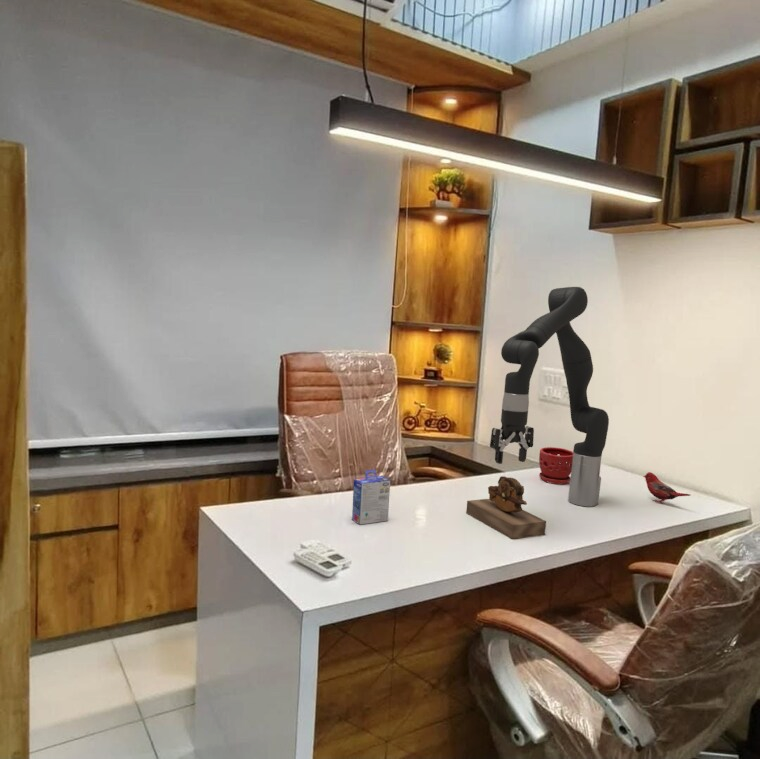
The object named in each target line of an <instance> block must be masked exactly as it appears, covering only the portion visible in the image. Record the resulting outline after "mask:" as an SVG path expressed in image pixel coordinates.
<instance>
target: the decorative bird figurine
mask: <svg viewBox="0 0 760 759" xmlns="http://www.w3.org/2000/svg"><path fill="white" fill-rule="evenodd" d="M642 477H643V478H644V479H645V482H646V486H647V489H648V491H649V492H650V494H651V495H652V496H653V497H654V498H656V499H651V500H652V501H654V502H655V503H657V504H658V503H659V504H661V505H663V504H664V505H666V503H665V502H664V501H667V500H673V499H675V498H678V497H687V496H688V497H689V496H691V494H689V493H682V492H677V491H676V490H675V489H673V488H672V487H671V486H669V485H668V484H666V483H664V482H662V481H661V480H659V478H658V476H656V475H655V474H654V473H653V472H647V473H646V474H645V475H644V476H642ZM658 499H659V500H658Z"/></svg>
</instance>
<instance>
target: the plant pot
mask: <svg viewBox="0 0 760 759" xmlns="http://www.w3.org/2000/svg"><path fill="white" fill-rule="evenodd" d="M538 455H539V458H538V462H539V463H538V464H539V469H540V473H538V474H539V478H540V479H541V480H542V481H544V482H547V483H551V484H557V485H563V484H568V483H570V478H571V469H572V459H573V451H572V450H569V449H566V448H561V447H551V446H550V447H549V446H548V447H546V446H545V447H541V448H540V450H539V454H538Z"/></svg>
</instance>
